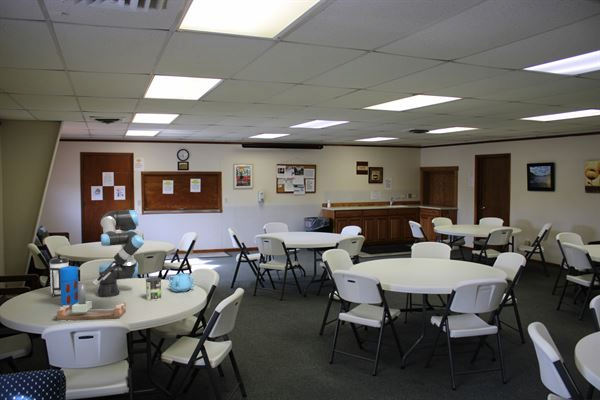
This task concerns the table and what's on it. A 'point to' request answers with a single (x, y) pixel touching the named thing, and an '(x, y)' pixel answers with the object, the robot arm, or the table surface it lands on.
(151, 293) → the coffee can
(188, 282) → the decorative pot
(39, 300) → the table surface
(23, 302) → the table surface
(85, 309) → the carriage
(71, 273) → the thermos
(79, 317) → the rail board
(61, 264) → the coffee press
